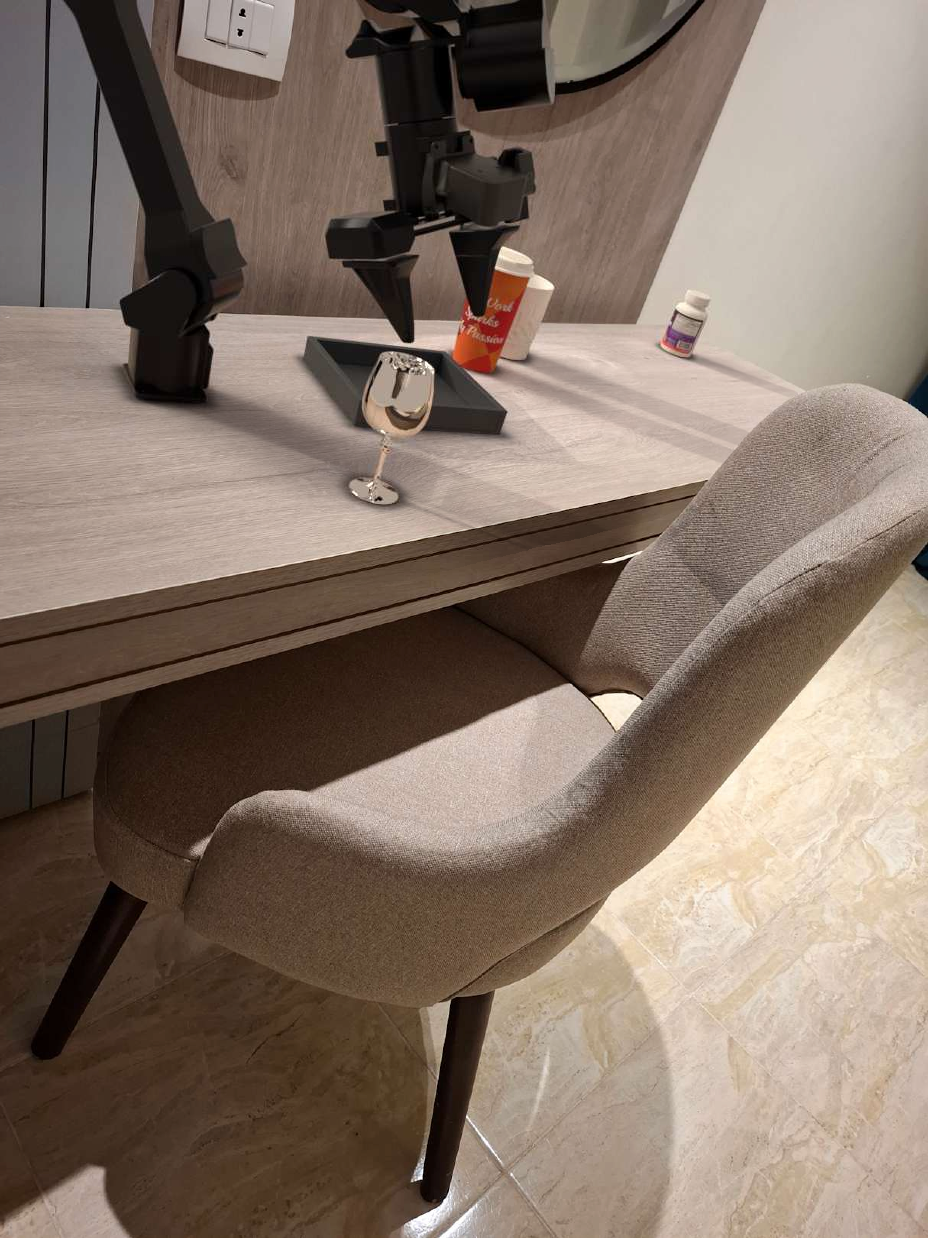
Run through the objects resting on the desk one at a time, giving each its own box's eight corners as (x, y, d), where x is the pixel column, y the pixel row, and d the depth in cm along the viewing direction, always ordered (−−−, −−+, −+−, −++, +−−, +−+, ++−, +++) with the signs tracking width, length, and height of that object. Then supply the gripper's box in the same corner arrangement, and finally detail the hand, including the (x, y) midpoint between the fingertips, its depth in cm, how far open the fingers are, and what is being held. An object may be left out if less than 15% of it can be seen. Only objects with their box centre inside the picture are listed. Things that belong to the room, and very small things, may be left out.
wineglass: (380, 515, 77) (416, 383, 70) (328, 484, 79) (358, 353, 72) (417, 497, 82) (454, 373, 75) (367, 469, 83) (399, 344, 77)
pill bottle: (667, 343, 154) (691, 286, 149) (694, 356, 152) (719, 299, 147) (654, 346, 150) (678, 288, 145) (682, 359, 148) (708, 301, 143)
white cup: (526, 367, 121) (551, 294, 115) (470, 347, 121) (493, 273, 115) (533, 352, 127) (557, 281, 122) (480, 333, 128) (502, 262, 122)
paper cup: (435, 357, 114) (467, 244, 106) (457, 346, 120) (489, 238, 112) (491, 382, 112) (527, 269, 105) (510, 368, 119) (546, 261, 111)
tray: (354, 425, 90) (360, 399, 89) (302, 359, 100) (307, 335, 99) (500, 434, 99) (508, 411, 98) (439, 372, 110) (445, 350, 108)
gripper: (414, 125, 59) (444, 366, 66) (576, 100, 70) (585, 308, 78) (302, 137, 65) (341, 355, 73) (467, 113, 77) (485, 302, 85)
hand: (445, 329), depth 77 cm, fingers open, 9 cm apart
